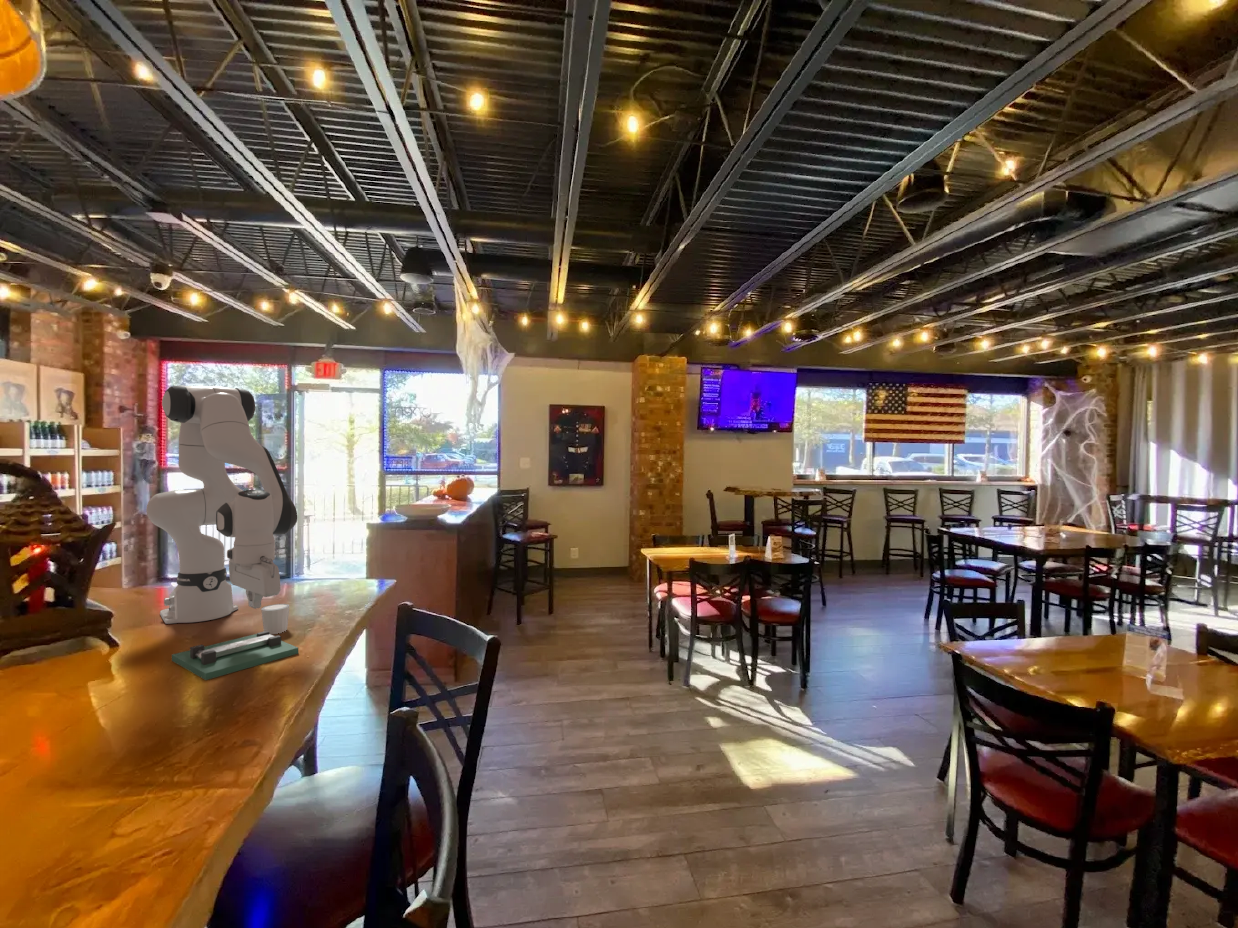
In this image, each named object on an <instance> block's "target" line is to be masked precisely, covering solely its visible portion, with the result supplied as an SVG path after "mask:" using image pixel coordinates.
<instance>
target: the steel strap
mask: <svg viewBox="0 0 1238 928" xmlns="http://www.w3.org/2000/svg"><path fill="white" fill-rule="evenodd" d="M274 636H275V635H274V634H271V635H270V634H268V635H264V636H260V637H256V638H252V639H248V640H243V641H239V642H235V643H231V644H227V645H223V646H219V647H215V648H211V649H207V650H198V651H197V652H196V653H195V656H196V657H197V658H199V659H201V653H203V652H207V651H211V650H214V651H216V657H220V656H223V655H227V654H231V653H235V652H239V651H243V650H247V649H250V648H254V647H258V646H262V645H266V644H268V638H270V637H274Z"/></svg>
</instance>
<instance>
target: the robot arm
mask: <svg viewBox="0 0 1238 928" xmlns="http://www.w3.org/2000/svg"><path fill="white" fill-rule="evenodd" d="M161 406H162V410H163V412H164V414H165V416H166V417H167V418H168V419H169V420H170V421H172V422H176V423H180V426H179V436H178V468H179V471H180V472H181V473H183V474H184V475H186V476H187V477H190V478H192V479H196V480H197V481H201V482H202V484H203V487H202V488H200V489H180V490H179V489H178V490H177V489H176V490H169V491H164V492H159V493H155V494H154V495H152V497H151V498H150V499H149V501H148V502H147V504H146V509H145V510H146V511H145V512H146V516H147V518H148V520H149V521H150V523H152V524H153V525H154V526H156V527H158V528H160V529H162V530H163V531H164V532H166V533H167V534H168V535H169V536H170V537H171V538H172V539H173V541H174V542H175V545H176V547H177V552H178V561H179V572H178V573H177V577H176V586H175V588H174V589H173V591H171V593H170V594H169V597H165V598H164V599H163V604H164V606H165V607H167V606H168V607H167V608H165V609H161V610H160V612H159V615H160V616H161V619H162V620H163V622H164V623H165V624H166V625H167V624H168V625H169V624H170V625H171V624H177V623H178V624H179V623H181V624H182V623H187V624H188V623H198V622H206V621H210V620H211V621H212V620H216V619H220V618H224V617H226V616H229V615H230V614H232V613H233V612H234V611H237V610H239V606H238V605H236V604H234V601H233V600H234V597H233V589H232V588H233V586H235V587H239V588H241V589H242V590H243V589H244V590H245V595H246V598H247V601H248V603H247V604H248V607H250V608H252V609H255V610H257V609H261V608H262V600H263V599H264V598H269V597H274V596H277V595H279V594H280V592H281V577H280V570H279V569H280V568H279V567H278V565H277V564H275V563H274V561H275V559H276V557H275V554H276V552H275V551H276V546H275V545H276V544H275V543H276V542H275V541H276V540H275V537H274V535H286V534H287V533H289V532H290V531H291V530H292V529H293V528H294V527H295V526H296V525H297V521H298V510H297V508H296V506H295V504H294V502H293V501H292V499H291V498H290V495H289V494H288V492H287V490H286V487H285V485H284V482H283V480H282V477H281V475H280V473H279V471H278V468H277V465H276V464H275V461H274V458H273V457H272V455H271V453H270V452H269V450H268V448H266V447H265V446H263V445H261V444H260V443H259V442H258V441H257V440H256V439H255V438H254V436H253V434H252V432H251V430H250V426H249V421H250V420H252V419H253V417H254V415H255V411H256V402H255V398H254V396H253V395H252V393H251V392H250V391H249V390H246V389H243V388H237V387H236V388H232V387H226V386H218V385H187V386H186V385H184V384H181V385H180V384H178V385H172V386H169V387H168V388H167V389H166V390H165V392H164V394H163V396H162V400H161ZM226 464H229V465H233V466H237V467H240V468H243V469H246V470H249V471H251V472H252V473H253V474H255V475H256V476H257V477H258V479H259V481H260V483H261V486H262V489H263V490H260V489H245V490H243V489H242V488H240V487H238V486H237V484H235V483H234V482H233V481H232V480H231V478H230V476H229V475H228V472H227V470H226ZM207 525H215V529H216V530H217V531H218V532H219V533H220V534H221V535H223V536H224V537H226V538H234V541H233V547H231V548H229V549H227V550H226V557H227V559H229V560H228V574H229V580H230V583H231V584H230V583H229V582H228V581H226V580H227V568H226V567H225V545H224V543H223V542H222V541H221V540H220V539H218V538H217V537H213V536H212V535H211V536H210V535H207V534H204V533H202V532H201V529H200V527H201V526H207ZM232 585H233V586H232Z"/></svg>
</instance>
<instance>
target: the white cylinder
mask: <svg viewBox="0 0 1238 928" xmlns="http://www.w3.org/2000/svg"><path fill="white" fill-rule="evenodd" d="M260 611H261V618H262V619H261V620H262V626H263V632H264V631H269V634H270V635H278V633H279V634H283V633H285V632H287V631H288V626H289V624H288V623H289V614H290V604H288V603H287V604H286V603H275V604H270V605H266V606H263V607H260ZM286 630H287V631H286ZM284 631H285V632H284ZM282 632H283V633H282Z"/></svg>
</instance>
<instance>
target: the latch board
mask: <svg viewBox="0 0 1238 928" xmlns="http://www.w3.org/2000/svg"><path fill="white" fill-rule="evenodd" d="M268 634H269V631H264V630H263V631H260V632H257V633H254V634H251V635H247V636H246V635H245V636H243V637H239V638H235V639H230V640H226V641H222V642H218V643H213V644H210V645H206V646H205V645H204V644H198V645H194V646H190V647H189V650H184V651H181V652H177V653H173V654H171V662H173V663H175V664H177V665H179V666H180V667H182V668H184V669H185V670H187V671H189V672H191V673H192V674H194V675H196V676H198V677H199V678H201V679H203V680H204V681H208V680H212V679H214V678H218V677H221V676H225V675H228V674H232V673H235V672H238V671H243V670H246V669H250V668H252V667H256V666H260V665H263V664H266V663H271V662H274V661H277V660H280V659H284V658H288V657H292V656H295V655H298V654H299V647H298V646H296V645H293V644H290V643H288V642H285V641H283V640H282V636H280V635H278V634H277V635H273V636H274V637H270V638H268V644H266V645H262V646H258V647H254V648H250V649H247V650H243V651H239V652H235V653H231V654H227V655H223V656H220V657H216V651H214V650H211V651H207V652H203V653H201V659H199V658H197V657H196V656H195V653H196V652H197V651H198V650H207V649H211V648H215V647H219V646H223V645H227V644H231V643H235V642H239V641H243V640H248V639H252V638H256V637H260V636H264V635H268ZM273 660H274V661H273Z"/></svg>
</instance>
